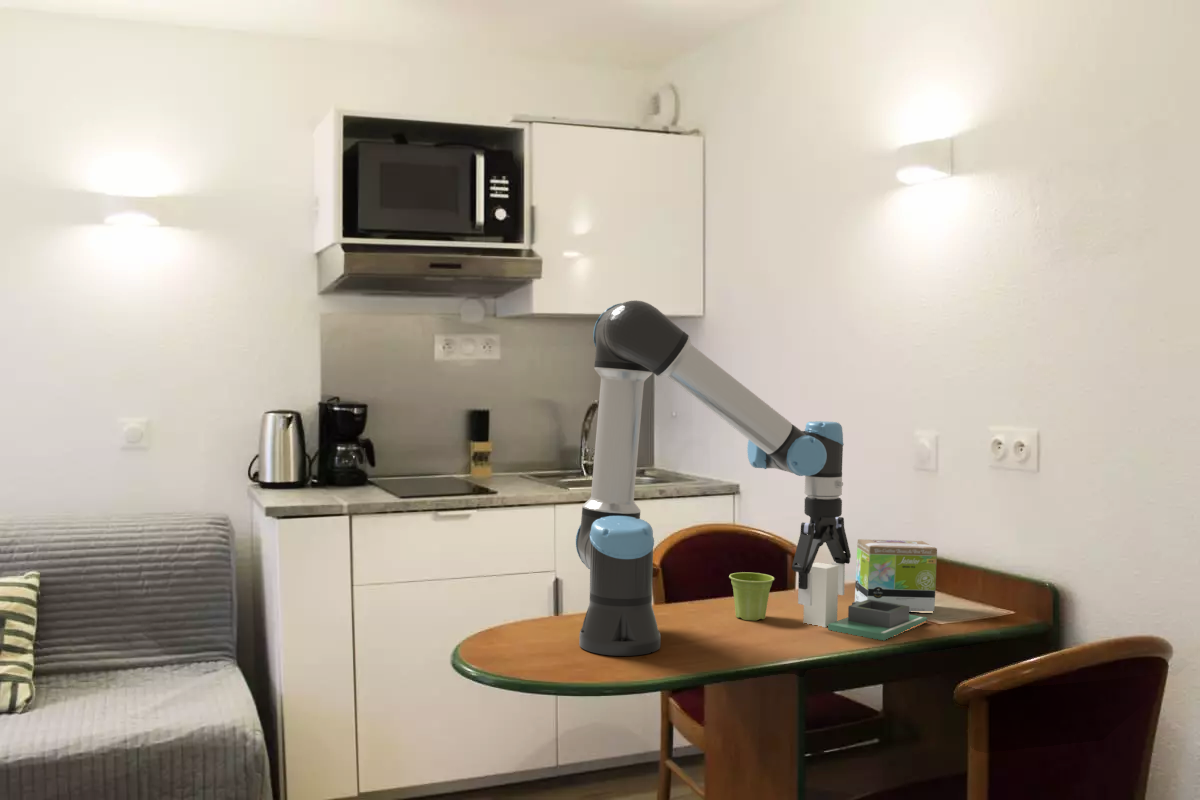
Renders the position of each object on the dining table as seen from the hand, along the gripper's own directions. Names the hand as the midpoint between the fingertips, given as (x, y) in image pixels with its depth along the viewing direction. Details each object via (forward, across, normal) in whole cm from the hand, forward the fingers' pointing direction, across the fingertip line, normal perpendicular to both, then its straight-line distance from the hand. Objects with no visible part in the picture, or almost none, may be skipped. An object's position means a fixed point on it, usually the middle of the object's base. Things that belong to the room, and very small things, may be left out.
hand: (821, 599), depth 216 cm
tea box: (+5, +24, -5) cm, 25 cm away
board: (+5, +6, -10) cm, 13 cm away
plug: (+5, 0, 0) cm, 5 cm away
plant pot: (+5, -6, +13) cm, 15 cm away
